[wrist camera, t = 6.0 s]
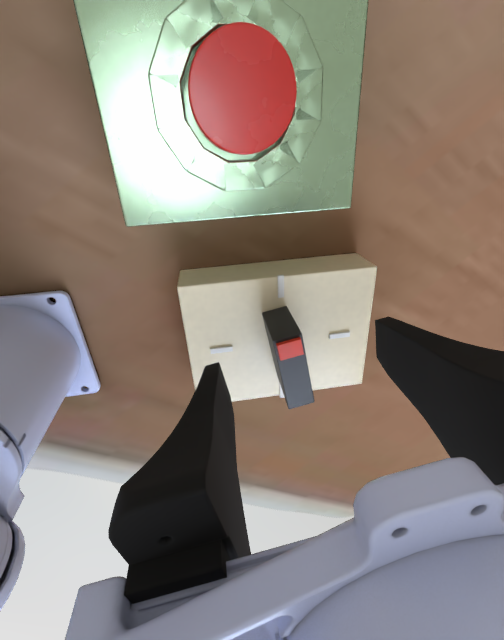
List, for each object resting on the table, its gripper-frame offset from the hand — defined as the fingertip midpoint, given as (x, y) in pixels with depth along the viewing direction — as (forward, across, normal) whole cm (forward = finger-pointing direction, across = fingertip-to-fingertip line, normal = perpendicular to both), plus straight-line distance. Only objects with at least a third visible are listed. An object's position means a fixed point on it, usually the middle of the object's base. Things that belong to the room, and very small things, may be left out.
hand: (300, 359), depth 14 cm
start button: (+4, 0, -10) cm, 11 cm away
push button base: (+9, 0, -10) cm, 14 cm away
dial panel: (+9, 0, +3) cm, 9 cm away
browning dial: (+6, 0, +3) cm, 7 cm away
